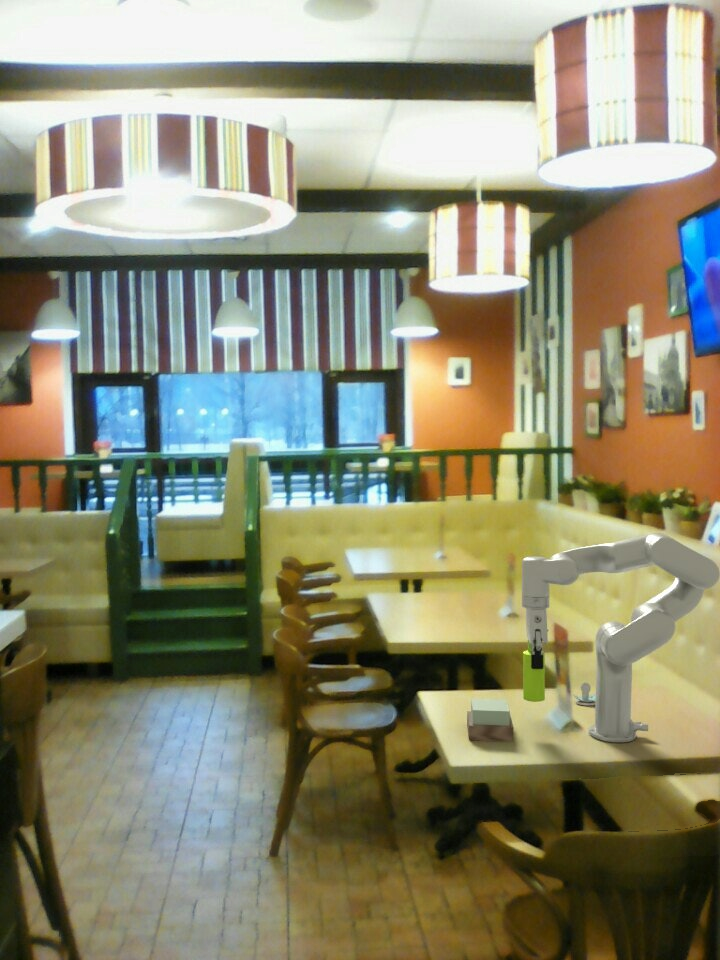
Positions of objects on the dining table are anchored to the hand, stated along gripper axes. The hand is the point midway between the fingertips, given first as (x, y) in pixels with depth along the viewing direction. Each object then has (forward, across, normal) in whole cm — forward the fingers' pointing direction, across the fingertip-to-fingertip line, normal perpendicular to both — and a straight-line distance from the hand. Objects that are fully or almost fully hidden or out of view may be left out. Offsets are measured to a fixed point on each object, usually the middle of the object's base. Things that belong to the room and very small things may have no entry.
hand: (535, 664), depth 244 cm
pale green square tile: (+15, -2, +13) cm, 20 cm away
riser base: (+19, -2, +13) cm, 23 cm away
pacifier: (+20, +28, -19) cm, 39 cm away
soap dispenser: (+10, 0, 0) cm, 10 cm away
